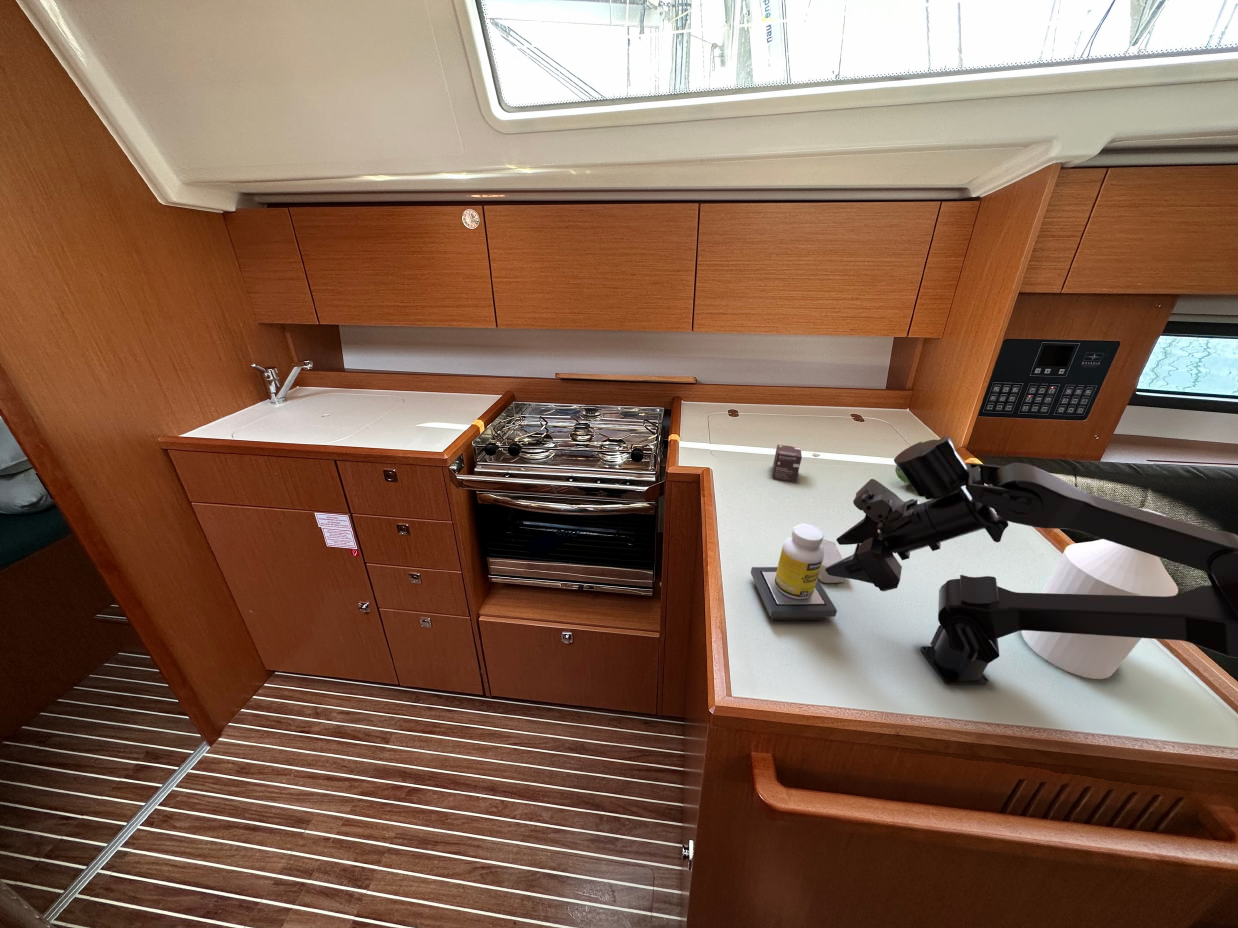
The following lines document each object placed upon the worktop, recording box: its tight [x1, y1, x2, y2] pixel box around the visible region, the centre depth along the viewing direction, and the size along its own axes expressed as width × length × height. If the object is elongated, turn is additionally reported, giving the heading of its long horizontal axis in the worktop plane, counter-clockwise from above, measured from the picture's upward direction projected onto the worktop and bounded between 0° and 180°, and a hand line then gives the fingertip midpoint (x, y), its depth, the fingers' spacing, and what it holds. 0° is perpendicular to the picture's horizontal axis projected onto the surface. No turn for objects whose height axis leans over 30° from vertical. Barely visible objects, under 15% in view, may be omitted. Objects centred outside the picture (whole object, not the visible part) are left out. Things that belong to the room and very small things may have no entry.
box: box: [771, 444, 803, 483], centre depth 122 cm, size 6×6×7 cm
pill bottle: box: [775, 523, 825, 599], centre depth 78 cm, size 6×6×12 cm
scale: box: [750, 566, 838, 621], centre depth 81 cm, size 11×11×3 cm
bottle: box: [1021, 507, 1179, 680], centre depth 69 cm, size 12×12×25 cm
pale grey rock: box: [818, 538, 846, 584], centre depth 90 cm, size 10×6×6 cm, turn 168°
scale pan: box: [762, 572, 825, 606], centre depth 81 cm, size 8×8×1 cm
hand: (832, 556), depth 75 cm, fingers open, 9 cm apart
